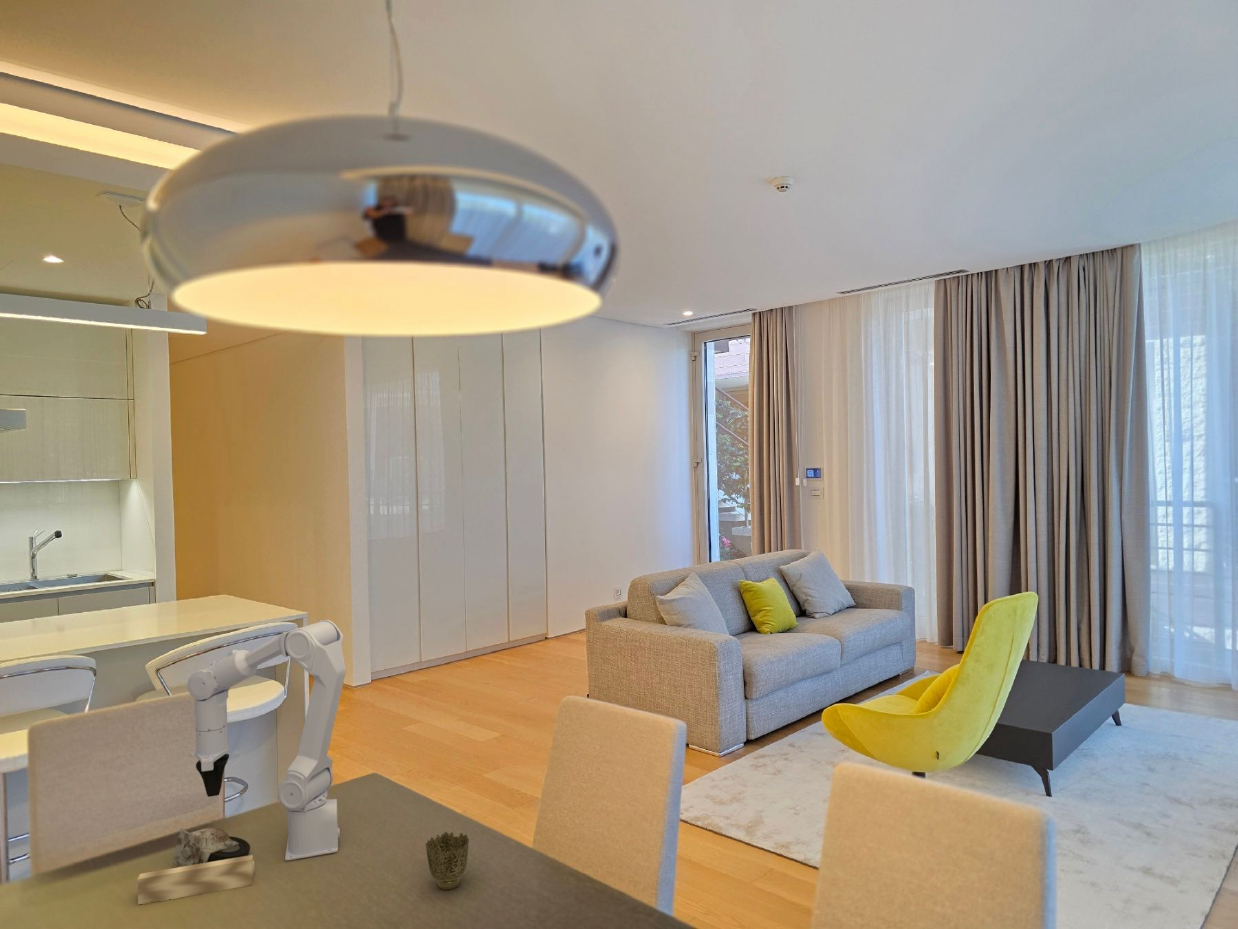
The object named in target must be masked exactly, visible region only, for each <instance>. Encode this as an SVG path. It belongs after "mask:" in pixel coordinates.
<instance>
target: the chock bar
mask: <svg viewBox="0 0 1238 929" xmlns="http://www.w3.org/2000/svg"><path fill="white" fill-rule="evenodd" d="M253 855H254V854H249V855H248V856H243V857H237V858H231V859H225V860H219V861H213V862H207V863H201V864H195V865H190V866H184V867H173V868H168V869H167V868H165V869H159V870H154V871H150V872H149V871H148V872H143V873H140V874H139V876H138V878H137V904H138V906H140V905H139V904H143V905H147V904H146V903H149V904H151V903H150V902H154V903H158V902H157V901H160V902H163V901H170V900H169V899H171V900H175V899H176V900H177V899H182V898H186V897H187V898H188V897H193V896H199V895H203V894H209V893H215V892H221V891H226V890H231V889H236V888H243V887H249V886H253V883H254V880H255V874H256V872H255V871H256V864H255V860H254V857H253ZM181 897H182V898H181Z"/></svg>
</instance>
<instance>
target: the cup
mask: <svg viewBox="0 0 1238 929" xmlns="http://www.w3.org/2000/svg"><path fill="white" fill-rule="evenodd" d="M469 839H470V838H469V836H468V835H467V834H464V833H462V832H461V833H459V836H454V832H452V831H451V832H450V833H448V832H447V831H444V832H443V833H442V834H441V836H440V835H439V834H436V836H435V839H434V837H432V836H431V837H430V838H429V839H427V842H425V848H426V857H427V863H428V868H429V871H430V874H431V876H432V877H433V878H434V879H435V880H436V881H437V885H438V887H439V888H440V889H441V890H444V891H449V890H453V889H455V888H456V887H458V885H459V883H460V877H461V876H462V875H463V874H464V872H466V871H465V870H466V868H467V864H468V855H469V854H468V853H469V843H470V840H469Z"/></svg>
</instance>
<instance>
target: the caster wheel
mask: <svg viewBox="0 0 1238 929" xmlns="http://www.w3.org/2000/svg"><path fill="white" fill-rule="evenodd" d="M250 850H251V845H250V843H249V842H248V841H247V840H245V839H244V838H243V839H242V838H240V837H237V836H230V835H228V833H227V832H226V831H225V830H224V829H223V828H221V827H214V826H213V827H205V828H202V829H199V830H195V831H191V832H188V831H187V830H185V829H184V828H182V827H181V828H180V830H179V833H178V837H177V842H176V846H175V850H174V852H173V857H172V864H173V866H176V868H178V867H184V866H190V865H195V864H201V863H207V862H213V861H219V860H225V859H231V858H237V857H243V856H249V855H250Z"/></svg>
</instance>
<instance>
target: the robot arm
mask: <svg viewBox="0 0 1238 929" xmlns="http://www.w3.org/2000/svg"><path fill="white" fill-rule="evenodd" d="M344 637H345V636H344V634H343V632H342V631H341V630H340V628H339V627H338V626H337V625H336V623H335V622H333V621H331V620H328V619H321V620H318V621H317V622H315V623H311V624H308V625H304V626H302V627H297V628H294V629H292V630H289V631H287V632H283V633H280V634H277V635H276V636H275V637H273V638H271V639H270V640H268V641H266V642H265V643H262V644H261V645H260V646H258V647H256V648H255V649H254V648H253V649H252V650H245V649H239V650H238V649H233V650H231V651H229V652H228V653H227V655H228V656H226V657H225V658H223V659H221V660H214V661H212V662H210V663H209V665H210V666H209V667H207V668H203V669H198V670H195V671H194V672H193V673H192V674H191V675H190V676H189V678H188V680H187V691H188V693H189V695H190V696H191V698H193V699H194V712H195V713H194V716H195V717H194V718H195V720H194V721H195V744H196V745H195V746H196V749H193V750H191V751H190V752H189V757H192V758H193V757H195V758H197V762H196V763H195V769H196V770H197V772H198V773H199V774H200V777H201V779H202V782H203V785H204V789H205V793H206V795H207V798H209V797H215V796H216V797H217V796H220V794H221V790H222V785H223V778H224V773H225V772H224V771H225V768H226V765H227V764H228V760H229V758H230V754H228V752H230V745H229V739H228V738H229V736H228V732H229V731H228V730H229V729H228V707H227V706H228V705H227V703H228V702H227V700H228V699H229V691H230V689H231V688H232V687H233V686H236V685H237V684H240V683H242V682H245V680H247V679H249V678H251V677H253V676H254V675H255V674H256V673H257V671H258V670H257V669H258V666H259V665H262V664H264V663H266V662H269V661H270V660H273V659H274V658H277V657H279V656H280V655H282V657H285V658H286V657H290V659H291V660H293V661H294V662H295V663H296V664H298V665H299V666H300V667H301V668H302V669H303V670H305V671H306V672H307V673H308V674H310V675H312V677H313V684H312V689H311V693H310V697H309V703H308V705H307V706H308V707H307V710H306V717H305V720H304V724H303V730H302V733H301V738H300V743H299V746H298V752H297V755H296V757H295V758H294V760H293V761H292V763H291V764H290V765H289V767H288V768H287V770H286V771H287V772H286V775H285V777H284V779H283V780H282V781H281V782H280V784H279V787H278V790H277V793H278V799H279V801H280V803H281V805H282V806H284V808H285V811H286V812H287V813H286V815H287V818H286V820H287V843H286V850H285V854H284V856H285V857H284V860H285V861H294V860H299V859H305V858H310V857H317V856H322V855H329V854H335V853H338V851H339V838H340V837H341V834H340V833H341V832H340V831H341V830H340V827H339V825H338V823H339V822H338V799H337V798H327V797H328V790H330V788H331V787H332V785H333V782H334V775H333V774H334V773H333V769H332V768H333V762H334V760H333V759H332V758H331V757H330V756H328V752H329V749H330V744H331V739H332V735H333V730H334V726H335V723H336V722H335V721H336V716H337V713H338V709H339V703H340V701H341V700H340V698H341V694H342V691H343V686H344V681H345V676H346V670H347V667H346V663H345V657H344V652H343V647H342V645H343V643H344V642H343V641H344Z"/></svg>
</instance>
